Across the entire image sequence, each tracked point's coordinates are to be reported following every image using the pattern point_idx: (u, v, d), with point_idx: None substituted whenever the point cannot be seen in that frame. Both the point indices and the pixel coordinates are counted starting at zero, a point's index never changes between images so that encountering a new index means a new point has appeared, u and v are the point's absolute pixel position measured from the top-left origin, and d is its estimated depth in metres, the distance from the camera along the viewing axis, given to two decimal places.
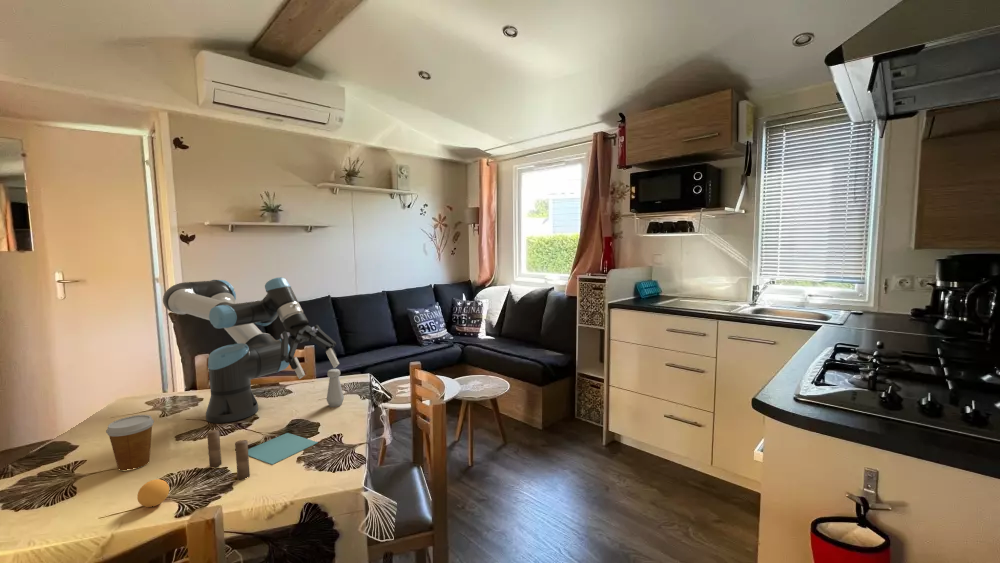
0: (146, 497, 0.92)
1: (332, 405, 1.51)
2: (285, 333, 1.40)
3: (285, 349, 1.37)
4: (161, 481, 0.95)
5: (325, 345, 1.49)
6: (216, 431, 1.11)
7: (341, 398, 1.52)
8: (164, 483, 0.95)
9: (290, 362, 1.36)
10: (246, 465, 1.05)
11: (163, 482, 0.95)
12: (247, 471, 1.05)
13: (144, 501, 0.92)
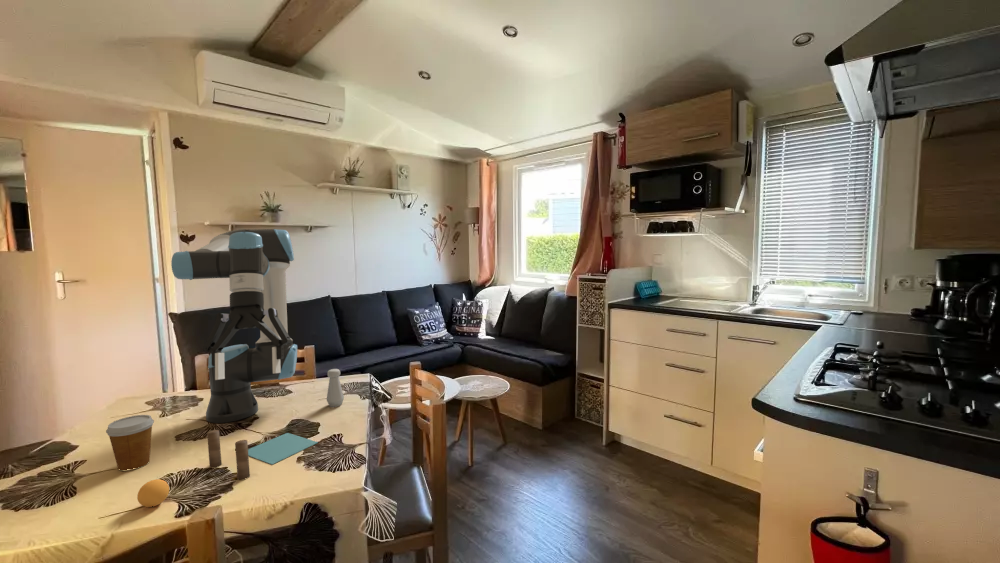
0: (146, 497, 0.92)
1: (332, 405, 1.51)
2: (219, 316, 1.07)
3: (208, 339, 1.06)
4: (161, 481, 0.95)
5: None
6: (216, 431, 1.11)
7: (341, 398, 1.52)
8: (164, 483, 0.95)
9: None
10: (246, 465, 1.05)
11: (163, 482, 0.95)
12: (247, 471, 1.05)
13: (144, 501, 0.92)
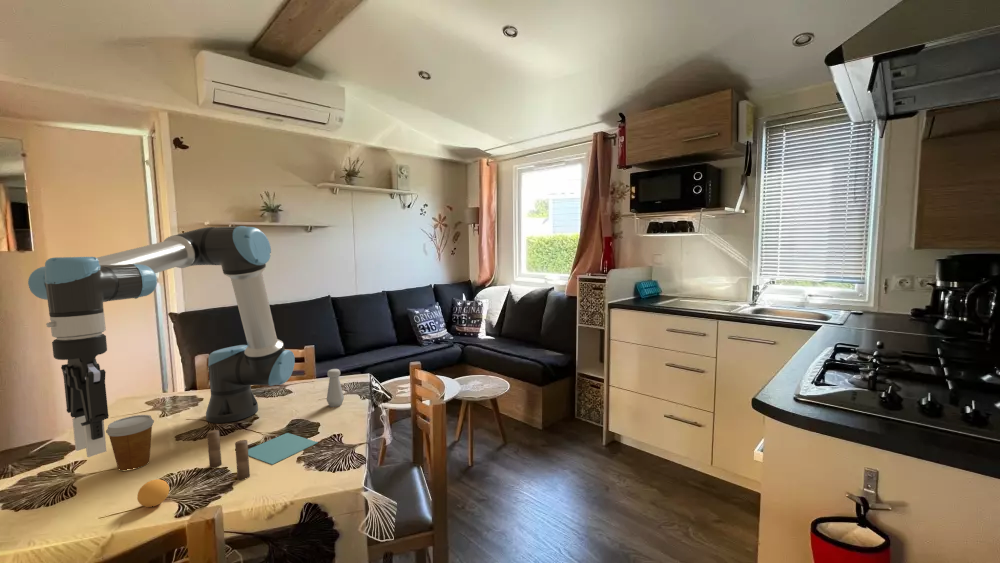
0: (146, 497, 0.92)
1: (332, 405, 1.51)
2: (62, 369, 0.85)
3: (66, 398, 0.86)
4: (161, 481, 0.95)
5: None
6: (216, 431, 1.11)
7: (341, 398, 1.52)
8: (164, 483, 0.95)
9: None
10: (246, 465, 1.05)
11: (163, 482, 0.95)
12: (247, 471, 1.05)
13: (144, 501, 0.92)
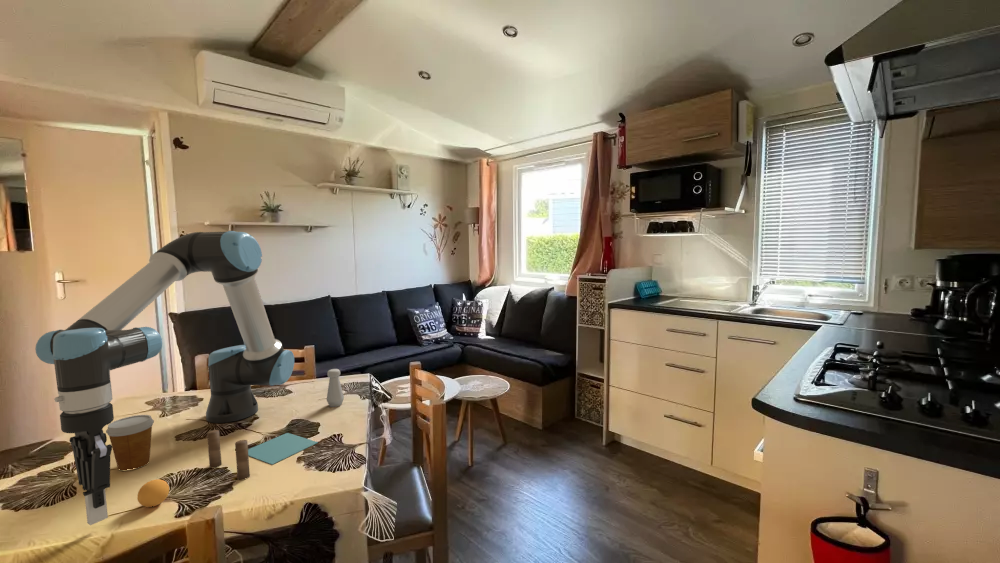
0: (146, 497, 0.92)
1: (332, 405, 1.51)
2: (71, 441, 0.86)
3: (77, 471, 0.86)
4: (161, 481, 0.95)
5: None
6: (216, 431, 1.11)
7: (341, 398, 1.52)
8: (164, 483, 0.95)
9: None
10: (246, 465, 1.05)
11: (163, 482, 0.95)
12: (247, 471, 1.05)
13: (144, 501, 0.92)
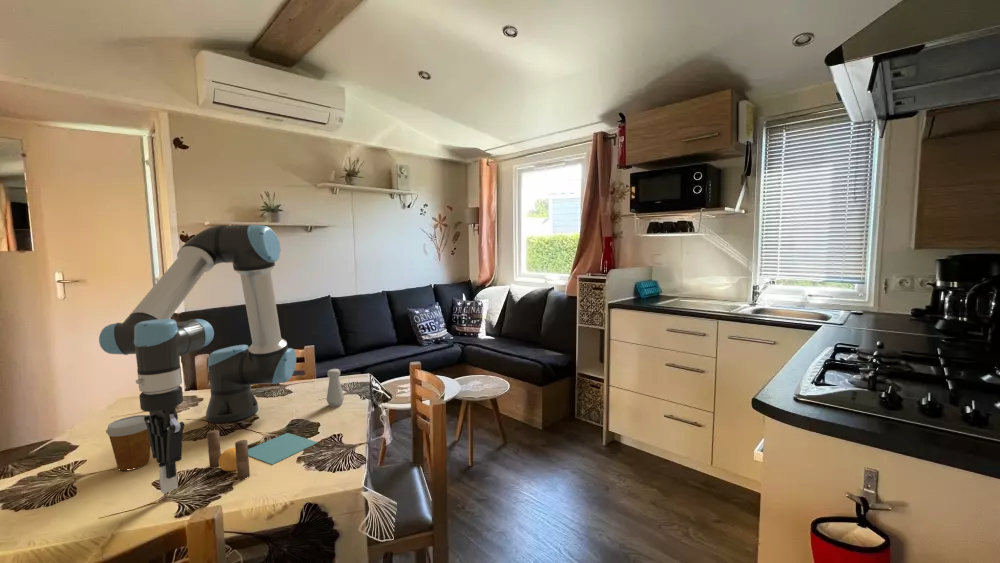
0: (228, 467, 1.07)
1: (332, 405, 1.51)
2: (145, 420, 0.97)
3: (151, 446, 0.97)
4: (230, 451, 1.08)
5: None
6: (216, 431, 1.11)
7: (341, 398, 1.52)
8: (234, 451, 1.08)
9: None
10: (246, 465, 1.05)
11: (233, 451, 1.08)
12: (247, 471, 1.05)
13: (228, 469, 1.07)
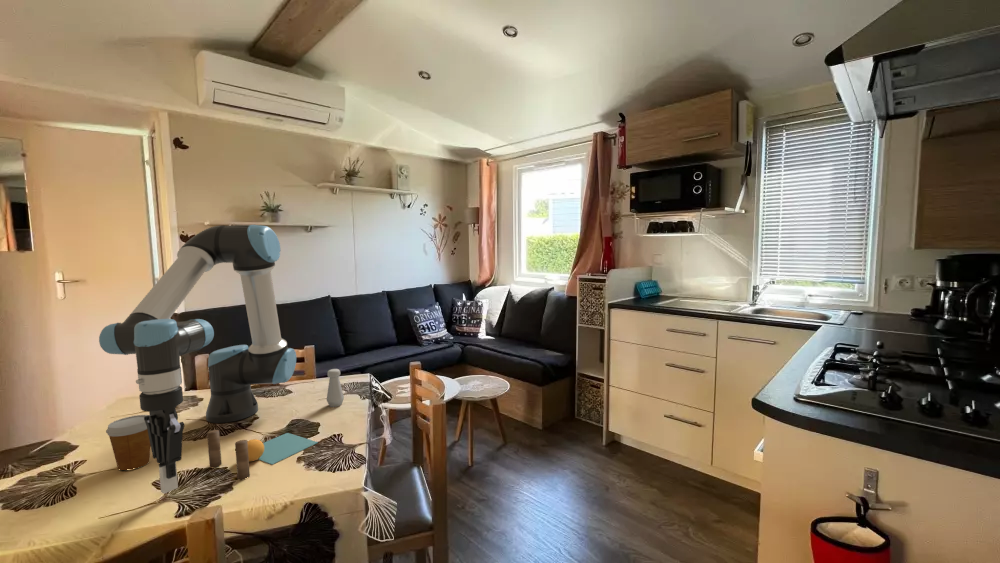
0: (255, 444, 1.13)
1: (332, 405, 1.51)
2: (145, 420, 0.97)
3: (151, 446, 0.97)
4: None
5: None
6: (216, 431, 1.11)
7: (341, 398, 1.52)
8: (263, 451, 1.15)
9: None
10: (246, 465, 1.05)
11: None
12: (247, 471, 1.05)
13: (252, 444, 1.12)
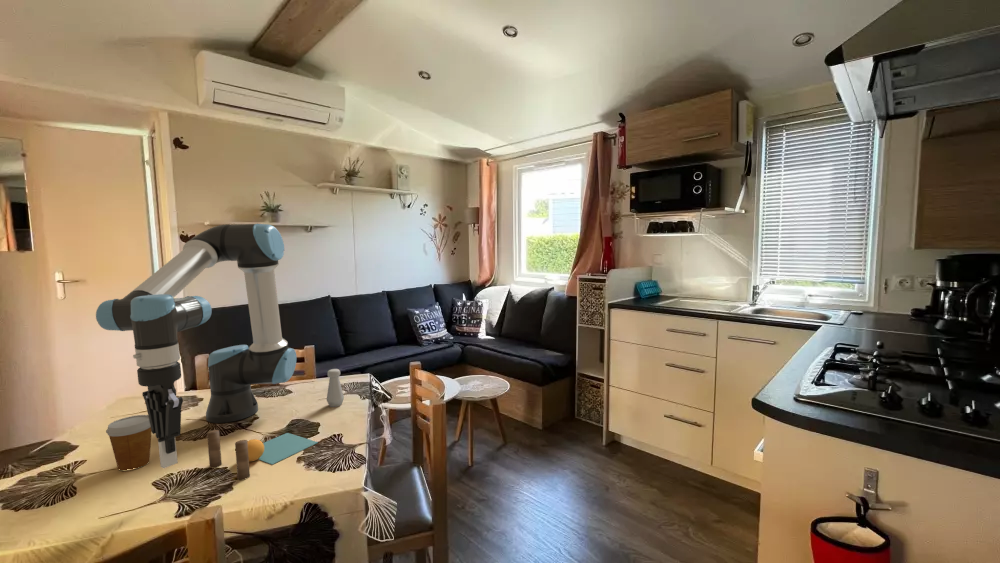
0: (255, 444, 1.13)
1: (332, 405, 1.51)
2: (144, 395, 0.97)
3: (150, 421, 0.97)
4: None
5: None
6: (216, 431, 1.11)
7: (341, 398, 1.52)
8: (263, 451, 1.15)
9: None
10: (246, 465, 1.05)
11: None
12: (247, 471, 1.05)
13: (252, 444, 1.12)
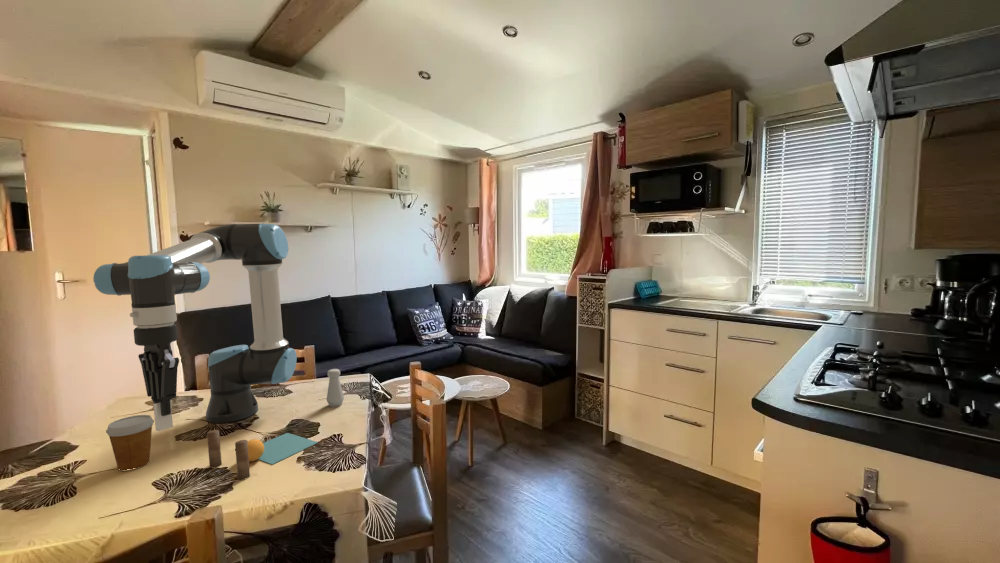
0: (255, 444, 1.13)
1: (332, 405, 1.51)
2: (140, 357, 0.96)
3: (146, 384, 0.96)
4: None
5: None
6: (216, 431, 1.11)
7: (341, 398, 1.52)
8: (263, 451, 1.15)
9: None
10: (246, 465, 1.05)
11: None
12: (247, 471, 1.05)
13: (252, 444, 1.12)
